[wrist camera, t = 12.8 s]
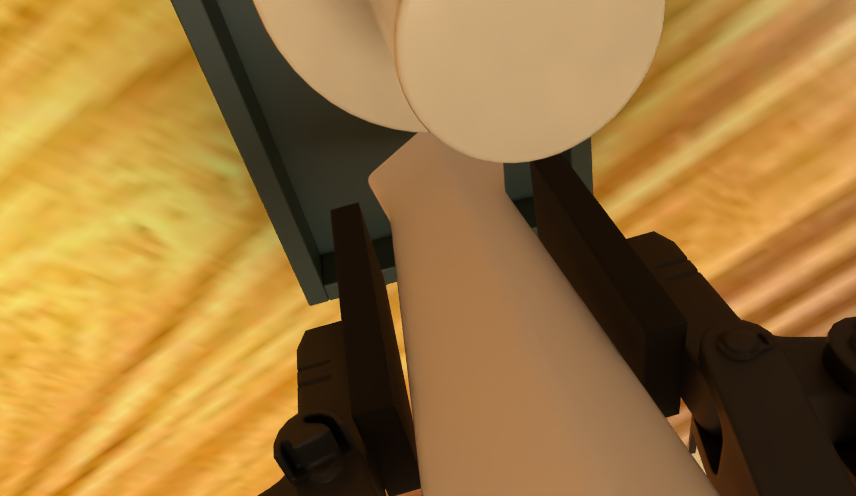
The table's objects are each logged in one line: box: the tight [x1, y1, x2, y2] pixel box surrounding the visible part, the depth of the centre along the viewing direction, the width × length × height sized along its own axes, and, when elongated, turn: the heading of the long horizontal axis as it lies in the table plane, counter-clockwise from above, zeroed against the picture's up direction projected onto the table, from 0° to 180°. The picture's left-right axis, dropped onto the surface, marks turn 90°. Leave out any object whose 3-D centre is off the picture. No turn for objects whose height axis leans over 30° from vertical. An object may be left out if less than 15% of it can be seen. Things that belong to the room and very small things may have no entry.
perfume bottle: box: [368, 132, 721, 496], centre depth 12 cm, size 5×4×15 cm
